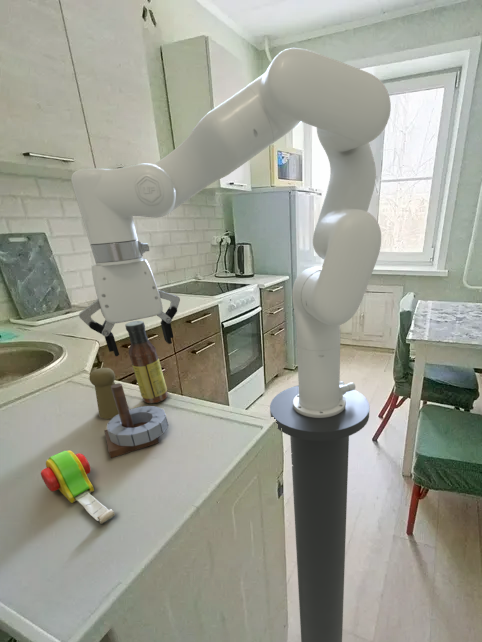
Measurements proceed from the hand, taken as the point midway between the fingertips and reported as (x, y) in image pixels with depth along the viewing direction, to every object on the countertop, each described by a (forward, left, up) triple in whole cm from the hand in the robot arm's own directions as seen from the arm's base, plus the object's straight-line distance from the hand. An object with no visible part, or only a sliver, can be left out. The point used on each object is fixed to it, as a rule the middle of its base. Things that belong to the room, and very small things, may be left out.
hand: (143, 347), depth 68 cm
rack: (+6, 0, -19) cm, 20 cm away
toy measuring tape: (+16, +12, -19) cm, 28 cm away
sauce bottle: (-2, -16, -19) cm, 25 cm away
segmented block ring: (+4, 0, -17) cm, 18 cm away
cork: (+8, -15, -19) cm, 26 cm away
